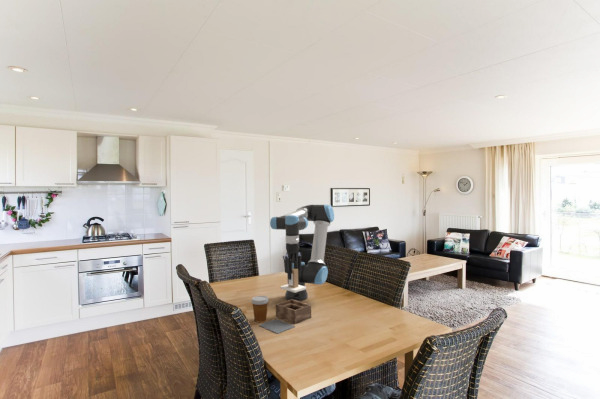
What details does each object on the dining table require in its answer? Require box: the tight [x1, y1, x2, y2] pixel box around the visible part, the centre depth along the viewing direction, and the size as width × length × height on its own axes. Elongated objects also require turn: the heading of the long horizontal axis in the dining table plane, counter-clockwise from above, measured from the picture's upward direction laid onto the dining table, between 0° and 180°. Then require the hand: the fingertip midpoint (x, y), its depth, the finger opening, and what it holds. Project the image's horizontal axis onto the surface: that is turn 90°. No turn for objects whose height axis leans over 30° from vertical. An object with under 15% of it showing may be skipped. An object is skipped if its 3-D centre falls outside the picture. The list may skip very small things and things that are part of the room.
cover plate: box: [280, 268, 308, 293], centre depth 186 cm, size 12×9×11 cm
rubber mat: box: [258, 318, 296, 335], centre depth 173 cm, size 15×12×1 cm
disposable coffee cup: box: [251, 295, 270, 323], centre depth 183 cm, size 10×10×12 cm
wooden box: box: [275, 299, 312, 325], centre depth 186 cm, size 16×13×7 cm
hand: (293, 284), depth 186 cm, fingers closed on cover plate, 3 cm apart
